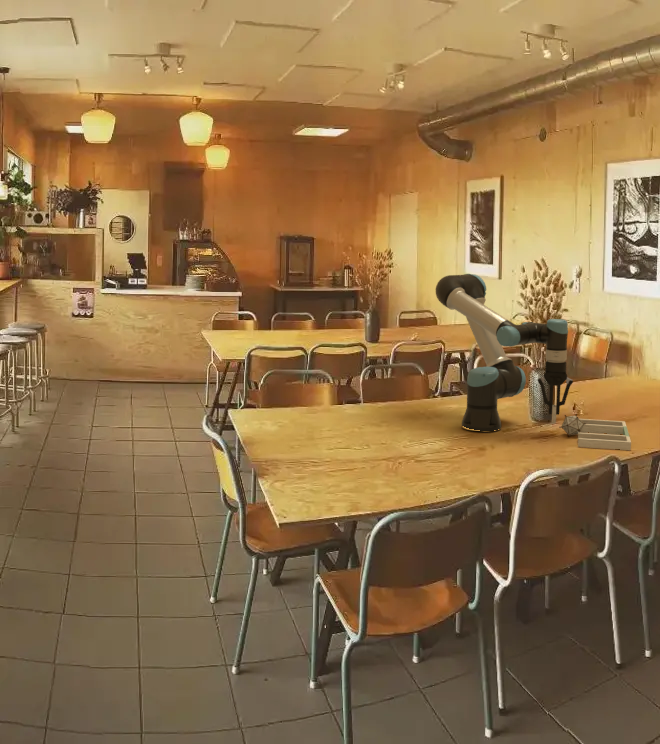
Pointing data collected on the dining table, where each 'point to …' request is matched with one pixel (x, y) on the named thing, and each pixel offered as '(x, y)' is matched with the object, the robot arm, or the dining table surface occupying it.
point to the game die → (572, 425)
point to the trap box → (604, 435)
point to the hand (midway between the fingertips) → (553, 422)
